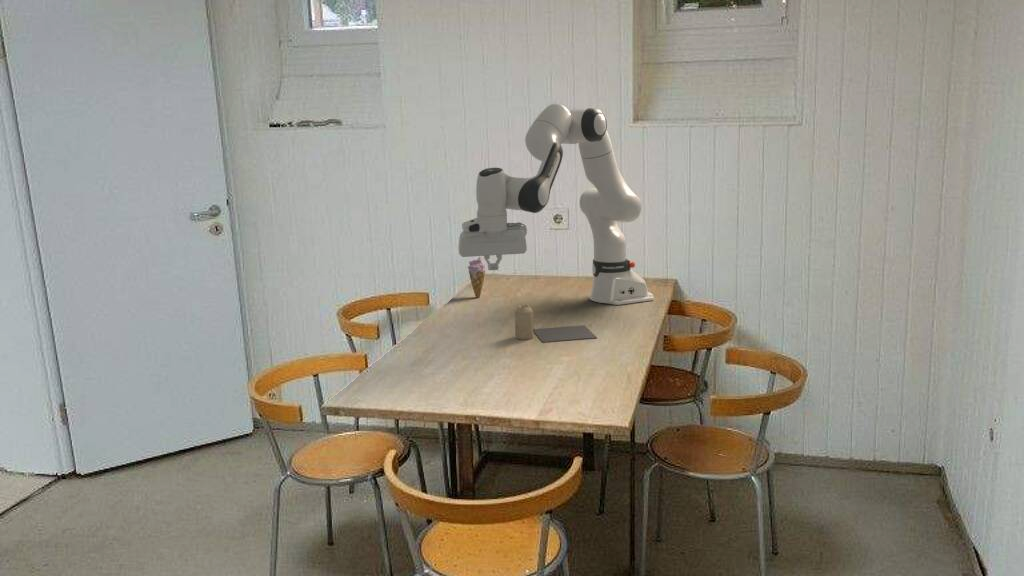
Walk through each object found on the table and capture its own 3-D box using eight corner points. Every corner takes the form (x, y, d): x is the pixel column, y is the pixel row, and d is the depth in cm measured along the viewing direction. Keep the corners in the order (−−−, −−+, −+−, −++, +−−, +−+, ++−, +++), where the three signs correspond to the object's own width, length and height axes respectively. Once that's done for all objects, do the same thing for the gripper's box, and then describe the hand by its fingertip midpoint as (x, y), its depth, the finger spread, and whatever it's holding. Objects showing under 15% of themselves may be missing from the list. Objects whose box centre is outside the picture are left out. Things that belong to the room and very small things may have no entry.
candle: (531, 340, 275) (531, 308, 272) (513, 339, 276) (513, 307, 273) (534, 335, 280) (534, 303, 278) (517, 334, 281) (516, 303, 279)
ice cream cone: (485, 299, 324) (484, 258, 320) (468, 300, 324) (466, 259, 321) (486, 295, 330) (485, 255, 327) (469, 295, 331) (467, 255, 327)
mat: (584, 325, 288) (584, 325, 288) (597, 338, 275) (597, 337, 275) (532, 330, 285) (532, 329, 285) (542, 342, 272) (542, 341, 272)
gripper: (524, 220, 273) (525, 265, 276) (456, 223, 269) (458, 269, 272) (528, 223, 267) (529, 269, 270) (459, 227, 263) (461, 273, 266)
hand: (493, 269), depth 271 cm, fingers closed
